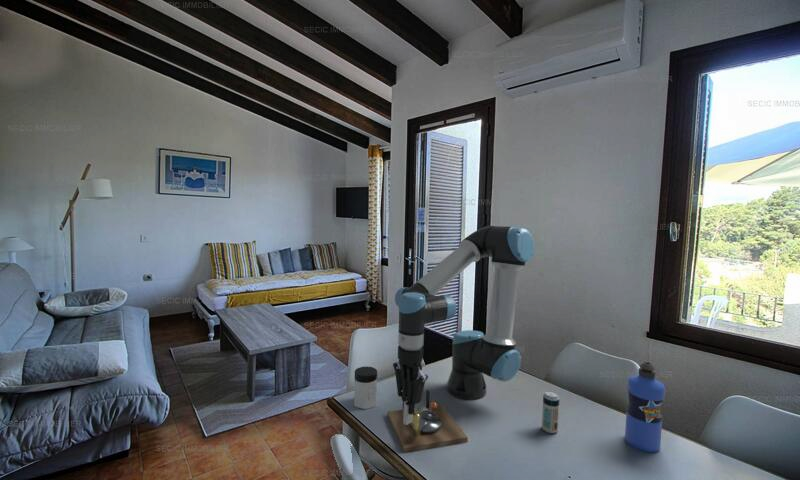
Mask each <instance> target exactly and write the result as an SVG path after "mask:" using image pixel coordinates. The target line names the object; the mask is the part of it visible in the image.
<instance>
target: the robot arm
mask: <svg viewBox="0 0 800 480" xmlns="http://www.w3.org/2000/svg"><path fill="white" fill-rule="evenodd" d="M534 253H535V241H534V238H533V236H532V235H531V232H530V231H529V230H528V229H526V228H523V227H518V226H503V225H502V226H501V225H499V226H498V225H488V226H484V227H481V228H479V229H477V230H476V231H473V232H471V234H469V235H467V236H466V237H464V239H463V240H461V241H460V242H459V246H458V247H457V248H456V249H454V250H453V251H452V252H451V253H450V254H448V255H447V256H446V257H445V258H444V259H443V260H441V261H440V262H439V263H437V264H436V265H435V266H434V267H433V268H432V269H431V270H429V271H428V272H426V274H424V276H422V277H421V278H419V280H417V281H416V282H415V283H414V284H412V285H411V286H410V287H408V286H406V287H405V286H403V287H400V288H399V289H398V290H397V291H396V292H395V295H394V302H395V304H396V306H397V307H398V338H397V339H398V341H397V344H398V347H397V359H398V361H397V362H393V363H392V367H393V370H394V373H395V382H396V390H397V395H398V397H400V398H401V400H402V410H404V418H403V423H404V424H405V425H407V424H409V423H411V422H413V413H414V411H415V408H416V407H415V406H416V405H417V404H418V403H421V401H422V396H423V392H424V389H425V383H426V381H427V380H428V379H429V376H428V374H425V373H424V372H423V371H422V370H423V367H422V362H423V360H424V345H425V343H424V342H425V341H424V340H425V325H427V324H433V323H438V322H444V321H447V320H450V319H452V318H454V317H455V316H456V313H457V304H456V303H457V302H456V301H455V299H454V297H452V296H451V295H449V294H446V295H445V294H444V295H443V294H441V295H437V294H439V292H441V290H443V289H444V288H445V287H446V286H447V285H448V284H449V283H451V282H452V281H453V280H454V279H455V278H456V277H458V275H460V273H462V272H463V271H465V269H466V268H468V267H469V266H470V265H471V264H472V263H477V262H478V261H480V260H481V259H482V258H488V257H489V258H491V260H490V261H491V262H490V263H491V264H492V265H493V267H494V271H493V272H494V274H493V283H492V289H491V290H492V291H491V298H490V306H489V307H490V308H489V317H488V325H487V330H486V331H487V332H486V333H485V334H484V332H483V331H480V330H472V329H471V330H469V329H468V330H461V331H457V332H456V333H454V335H453V337H452V352H451V353H452V359H451V362H452V363H451V371H450V374H449V377H448V380H447V384H446V390H447V392H448V393H449V394H450V395H452V396H454V397H455V398H458V399H462V400H478V399H483V398H484V397H485V396H486V394H487V383H486V380H485V377H484V375H486V376H488V377H490V378H492V379H493V380H497V381H500V382H502V383H505V382H509V381H510V380H512V379H513V378H514V377H515V376H516V375H517V373H518V371H519V369H520V367H521V364H522V356H521V354H520V352H519V351H518V350H517V349H516V345H517V343H516V341H515V340H514V338H513V331H514V322H515V313H516V304H517V299H518V298H517V296H518V288H519V280H520V274H521V272H520V271H521V270H522V269H524V268H525V267H526V262H529V261H530V260H531V259H532V256H533V255H534Z"/></svg>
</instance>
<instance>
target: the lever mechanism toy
mask: <svg viewBox="0 0 800 480" xmlns="http://www.w3.org/2000/svg"><path fill="white" fill-rule="evenodd" d="M430 392H431V391H430V389H426V391H425V394H426V395H425V406H419V407H415V411H414V412H418V413H419V412H423V411H429V409H430V407H429V406H430V399H431V397H430V395H431V393H430ZM437 405H438V408H437V410H435V411H433V414H435V415H437V416H438V417H440V419H441V428H440V429H439V430H438V431H437V432H434V433H429V434H426V433H420V435H419V436H418V437H414V436H413V435H412V430H413V429H412V428H411V426H410V423H409V424H407V425H405V424H404V423H403V418H404V410H403V409H396V410H389V411H388V410H387V411H386V416H387V418H388V420H389V423H390V425H391V427H392V429H393V432H394V434H395V436H396V438H397V440H398V442H399V444H400V446H401V449H402V451H403V453H404V454H406V453H412V452H416V451H417V452H418V451H421V450H423V451H424V450H428V449H434V448H441V447H446V446H451V445H458V444H459V445H460V444H463V443H468V440H469V438H468V436H467V435H466V433H465V432H464V431H463V429H462V428H461V426H460V425H459V424H458V423H457V421H456V420H455V418H454V417H453V416H452V415H451V414H450V412H449V411H448V410H447V409H446V407H445V406H444V404H443V403H440V404H437Z"/></svg>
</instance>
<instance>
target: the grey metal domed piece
mask: <svg viewBox="0 0 800 480" xmlns="http://www.w3.org/2000/svg"><path fill="white" fill-rule="evenodd" d="M438 405H439V404H438V403H437V401H431V402H429V407H430V409H429V411H423V412H419V413H418V412H414V413H413V422H411V423H410V426H411V428H412V429H413V430H412V435H413V436H414V437H418V436H419V435H420V433H426V434H429V433H434V432H437V431H438V430H439V429H440V428H441V419H440V417H438V416H437V415H435V414H433V411H435V410H437V408H438Z"/></svg>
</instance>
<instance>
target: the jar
mask: <svg viewBox="0 0 800 480" xmlns="http://www.w3.org/2000/svg"><path fill="white" fill-rule="evenodd" d="M353 384H354V386H353V387H354V390H353V391H354V394H353V395H354V396H353V397H354V398H353V400H354V401H353V405H354V407H355V408H359V409H362V410H368V409H372V408H374V407H377V402H378V401H377V396H378V395H377V392H378V391H377V390H378V389H377V387H378V386H377V384H378V370H377V369H376V368H375V367H373V366H359V367H357V368H356V369H355V370H354V383H353Z"/></svg>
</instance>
